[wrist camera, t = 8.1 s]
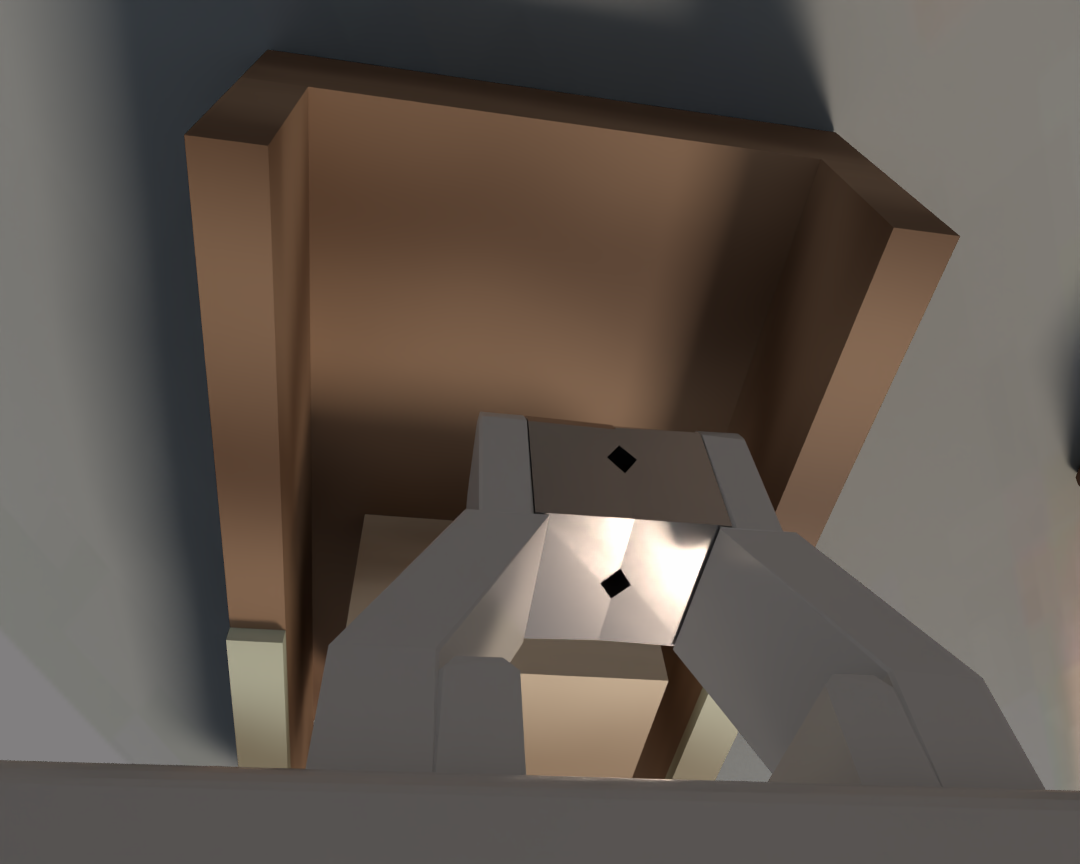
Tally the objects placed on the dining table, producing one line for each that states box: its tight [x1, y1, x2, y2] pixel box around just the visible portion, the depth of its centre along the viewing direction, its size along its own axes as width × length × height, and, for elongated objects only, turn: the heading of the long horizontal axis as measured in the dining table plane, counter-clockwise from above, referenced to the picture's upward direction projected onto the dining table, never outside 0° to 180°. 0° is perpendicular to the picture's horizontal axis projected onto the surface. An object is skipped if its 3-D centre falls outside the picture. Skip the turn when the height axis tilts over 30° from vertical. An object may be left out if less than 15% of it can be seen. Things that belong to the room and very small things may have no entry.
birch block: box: [346, 514, 668, 778], centre depth 18 cm, size 6×6×4 cm
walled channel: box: [184, 50, 960, 781], centre depth 19 cm, size 23×10×5 cm, turn 171°
